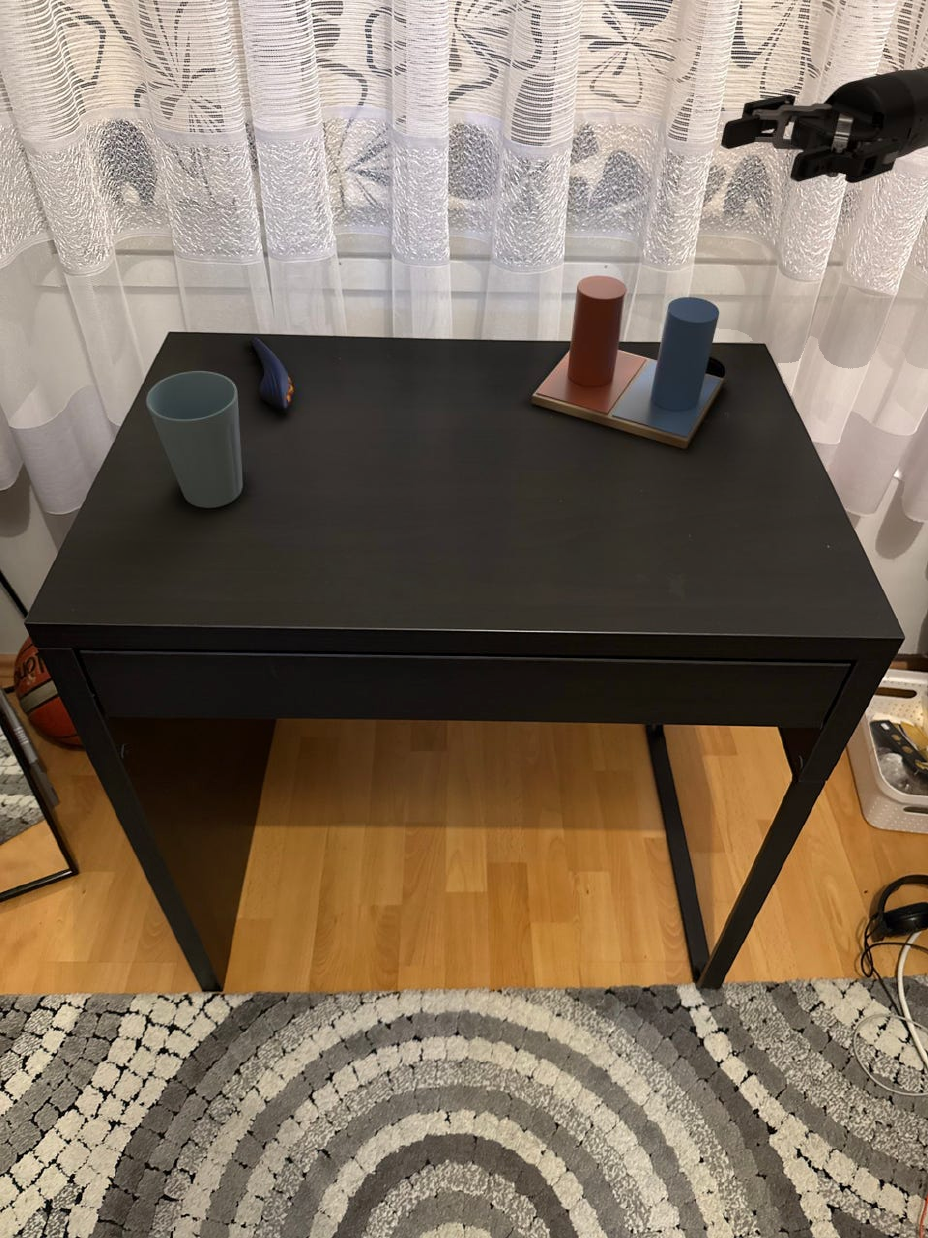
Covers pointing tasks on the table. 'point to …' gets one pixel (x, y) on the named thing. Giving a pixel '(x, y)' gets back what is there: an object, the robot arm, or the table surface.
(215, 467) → the cup
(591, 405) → the board
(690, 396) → the blue canister
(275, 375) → the tapered navy handle
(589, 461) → the table surface
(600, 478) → the table surface
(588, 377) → the rust canister
